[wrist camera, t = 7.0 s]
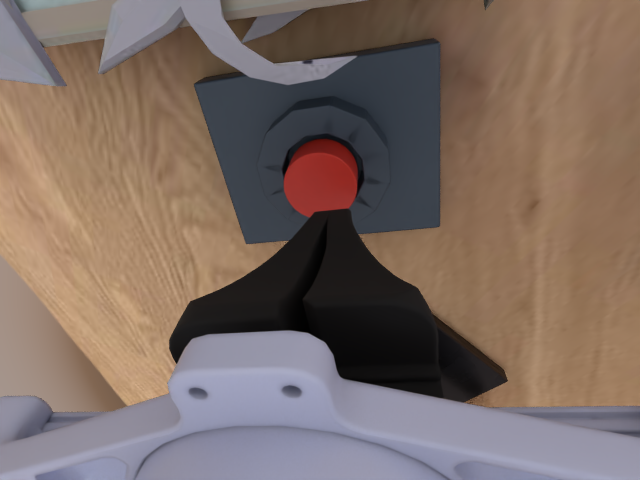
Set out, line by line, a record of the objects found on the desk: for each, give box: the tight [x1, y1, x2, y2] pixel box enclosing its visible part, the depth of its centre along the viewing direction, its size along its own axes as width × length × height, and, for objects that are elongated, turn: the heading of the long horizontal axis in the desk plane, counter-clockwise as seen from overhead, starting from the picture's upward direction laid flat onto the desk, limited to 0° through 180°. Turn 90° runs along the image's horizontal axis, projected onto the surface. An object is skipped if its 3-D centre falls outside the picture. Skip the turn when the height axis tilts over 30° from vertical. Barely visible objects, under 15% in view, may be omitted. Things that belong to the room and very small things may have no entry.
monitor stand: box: [432, 314, 508, 403], centre depth 27 cm, size 9×10×4 cm
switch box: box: [194, 38, 440, 244], centre depth 19 cm, size 11×9×3 cm
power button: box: [284, 139, 358, 217], centre depth 17 cm, size 3×3×2 cm
